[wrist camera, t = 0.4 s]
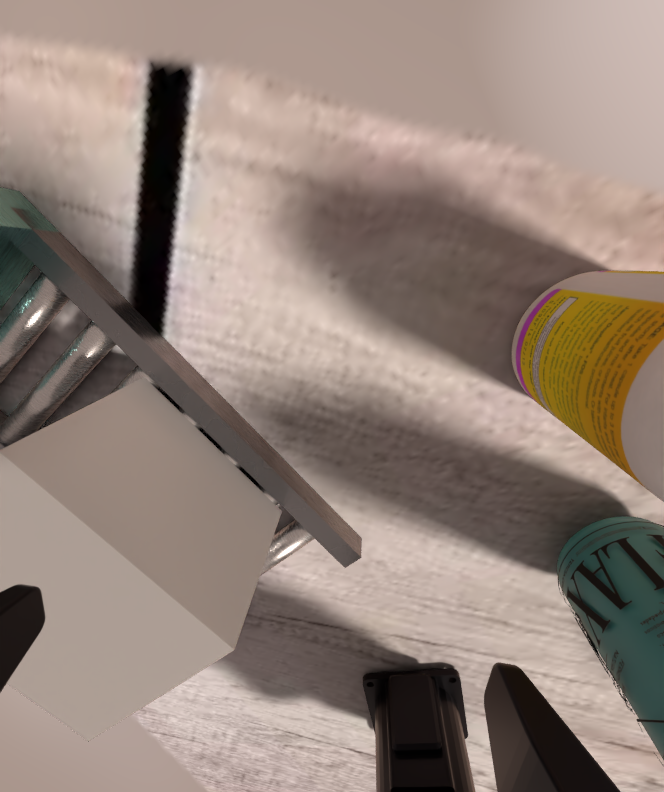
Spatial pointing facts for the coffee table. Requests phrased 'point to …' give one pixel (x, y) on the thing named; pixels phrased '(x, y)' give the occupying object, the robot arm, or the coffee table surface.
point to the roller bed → (135, 372)
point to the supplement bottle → (601, 365)
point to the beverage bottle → (622, 607)
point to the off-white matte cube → (127, 554)
